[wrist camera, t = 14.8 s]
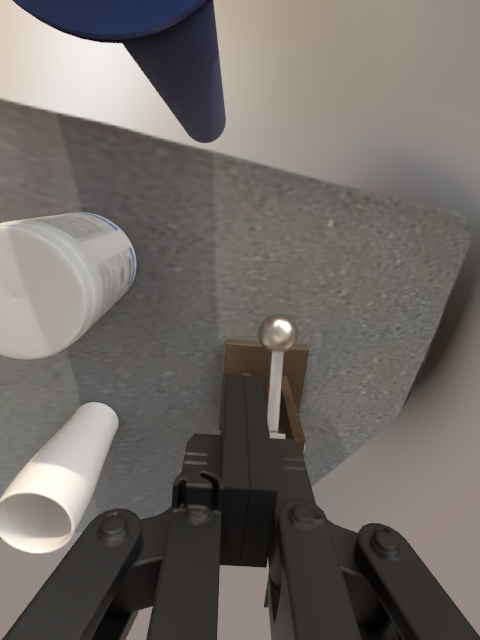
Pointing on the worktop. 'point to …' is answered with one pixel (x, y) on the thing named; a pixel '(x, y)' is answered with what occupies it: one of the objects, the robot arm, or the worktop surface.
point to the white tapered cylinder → (58, 482)
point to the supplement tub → (59, 280)
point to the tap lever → (276, 363)
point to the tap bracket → (256, 363)
